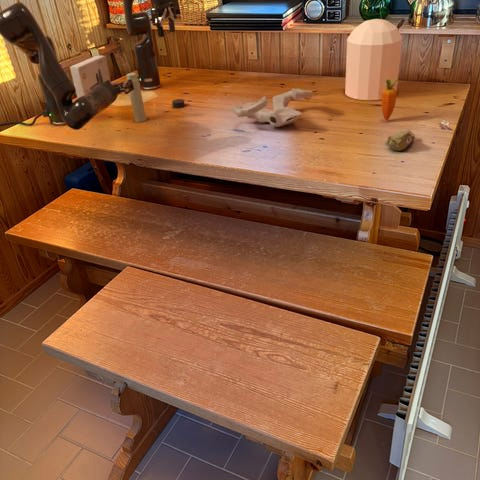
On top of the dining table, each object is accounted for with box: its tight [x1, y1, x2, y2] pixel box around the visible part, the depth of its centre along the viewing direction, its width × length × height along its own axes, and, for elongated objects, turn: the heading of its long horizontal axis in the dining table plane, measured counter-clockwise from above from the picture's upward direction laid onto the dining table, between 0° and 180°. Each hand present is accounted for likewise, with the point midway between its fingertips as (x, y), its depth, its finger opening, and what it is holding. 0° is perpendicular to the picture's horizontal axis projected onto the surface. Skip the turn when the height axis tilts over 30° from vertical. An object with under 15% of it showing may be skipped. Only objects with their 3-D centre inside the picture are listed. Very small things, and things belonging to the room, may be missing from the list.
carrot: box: [380, 79, 398, 122], centre depth 161 cm, size 5×5×15 cm
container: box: [344, 18, 403, 101], centre depth 185 cm, size 21×21×28 cm
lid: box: [171, 98, 185, 109], centre depth 198 cm, size 5×5×2 cm
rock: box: [387, 129, 416, 152], centre depth 146 cm, size 11×6×10 cm
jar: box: [125, 72, 148, 123], centre depth 183 cm, size 5×5×18 cm
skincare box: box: [69, 54, 112, 99], centre depth 218 cm, size 21×6×16 cm, turn 158°
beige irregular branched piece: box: [231, 88, 314, 128], centre depth 171 cm, size 28×26×12 cm
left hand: (120, 82), depth 169 cm, fingers open, 8 cm apart
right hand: (167, 34), depth 182 cm, fingers open, 8 cm apart
